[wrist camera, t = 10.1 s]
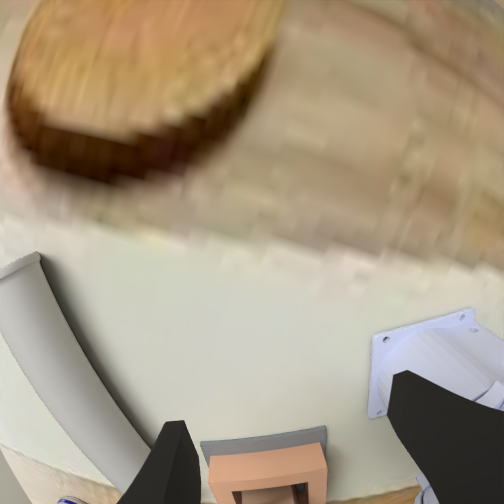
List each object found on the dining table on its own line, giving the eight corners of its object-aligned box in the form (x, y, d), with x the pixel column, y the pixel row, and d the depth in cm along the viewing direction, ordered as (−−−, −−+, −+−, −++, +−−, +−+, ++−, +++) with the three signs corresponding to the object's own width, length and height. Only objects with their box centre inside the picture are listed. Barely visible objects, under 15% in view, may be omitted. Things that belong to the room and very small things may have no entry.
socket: (324, 425, 22) (334, 454, 19) (323, 497, 25) (329, 521, 21) (200, 441, 22) (196, 471, 19) (227, 510, 24) (227, 534, 21)
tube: (203, 517, 20) (23, 255, 14) (152, 533, 18) (-37, 289, 13) (190, 479, 25) (48, 247, 19) (145, 495, 23) (-5, 275, 18)
